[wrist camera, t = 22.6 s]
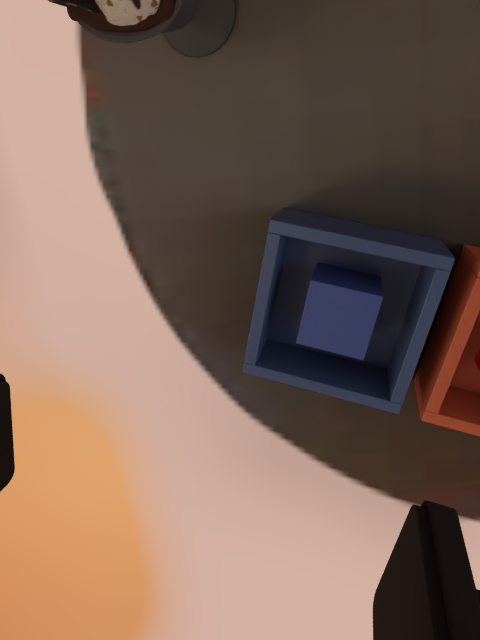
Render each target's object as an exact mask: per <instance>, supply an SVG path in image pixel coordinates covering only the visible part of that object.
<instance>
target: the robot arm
mask: <svg viewBox="0 0 480 640" xmlns="http://www.w3.org/2000/svg"><path fill="white" fill-rule="evenodd" d="M12 434H13V433H12V416H11V399H10V386H9V384H8V383H7V382H6V380H5V377H4V376H3V375H2V374H0V491H1V490H2V489H3V488H4V487H5V486H6V485H7V484H8V483H9V482H10V480H11V479H12V477H13V474H14V469H15V468H14V450H13V435H12ZM373 640H480V590H477V589H476V587H475V583H474V580H473V575H472V571H471V567H470V563H469V559H468V555H467V551H466V547H465V543H464V539H463V534H462V531H461V526H460V522H459V518H458V514H457V512H456V510H455V509H453V508H450V507H446V506H443V505H440V504H436V503H433V502H430V501H424V502H423V503H422V505H421V506H417V505H412V507H411V508H410V511H409V513H408V516H407V518H406V521H405V523H404V525H403V528H402V530H401V532H400V535H399V537H398V539H397V542H396V544H395V546H394V549H393V551H392V554H391V556H390V558H389V561H388V563H387V565H386V568H385V570H384V573H383V575H382V578H381V580H380V582H379V585H378V587H377V589H376V593H375V596H374V602H373Z"/></svg>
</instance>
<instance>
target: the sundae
mask: <svg viewBox="0 0 480 640" xmlns="http://www.w3.org/2000/svg"><path fill="white" fill-rule="evenodd" d="M48 1H49V2H52V3H56V4H59V5H63V6H66V7H67V11H68V14H69V17H70V18H71V19H72V20H74V21H78V23H79V24H80V25H81V26H82V27H83V28H84V29H85V30H87V31H88V32H89V33H91V34H92V35H94V36H96V37H98V38H100V39H102V40H105V41H111V42H116V43H132V42H137V41H141V40H145V39H148V38H151V37H154V36H156V35H157V34H159V33H164V34H165V36H166V38H167V39H168V41H169V42H170V43H171V45H172V46H173V47H174V48H175V49H176V50H178V51H179V52H181V53H183V54H184V55H186V56H192V57H202V56H206V55H209V54H211V53H213V52H215V51H216V50H217V49H218V48H219V47H220V46H221V45H222V44H223V43H224V42H225V41H226V39H227V37H228V35H229V33H230V31H231V29H232V26H233V22H234V15H235V3H234V0H48Z"/></svg>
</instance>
